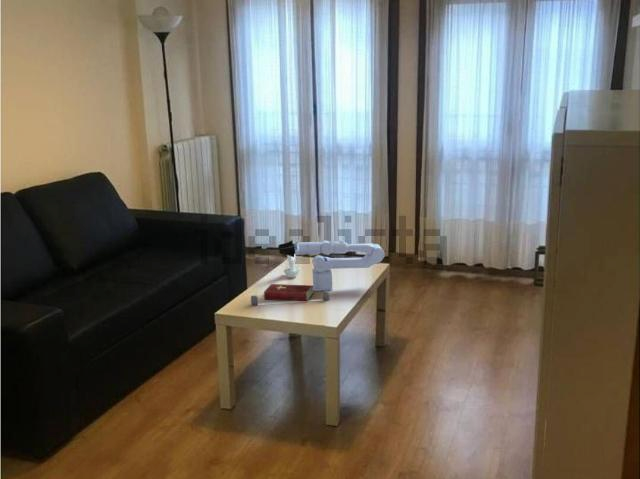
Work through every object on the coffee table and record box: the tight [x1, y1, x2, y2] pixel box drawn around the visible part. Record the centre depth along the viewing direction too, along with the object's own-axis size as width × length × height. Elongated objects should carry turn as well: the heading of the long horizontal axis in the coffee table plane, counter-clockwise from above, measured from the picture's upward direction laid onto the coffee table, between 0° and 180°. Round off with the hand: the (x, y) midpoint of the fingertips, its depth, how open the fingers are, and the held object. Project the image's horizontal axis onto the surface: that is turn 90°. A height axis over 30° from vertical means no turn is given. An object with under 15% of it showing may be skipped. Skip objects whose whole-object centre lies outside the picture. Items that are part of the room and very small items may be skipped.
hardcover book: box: [263, 283, 315, 302], centre depth 310 cm, size 12×21×4 cm, turn 77°
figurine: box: [283, 254, 301, 278], centre depth 340 cm, size 7×9×15 cm
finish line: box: [250, 290, 330, 307], centre depth 302 cm, size 36×3×4 cm, turn 97°
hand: (278, 249), depth 314 cm, fingers open, 7 cm apart
